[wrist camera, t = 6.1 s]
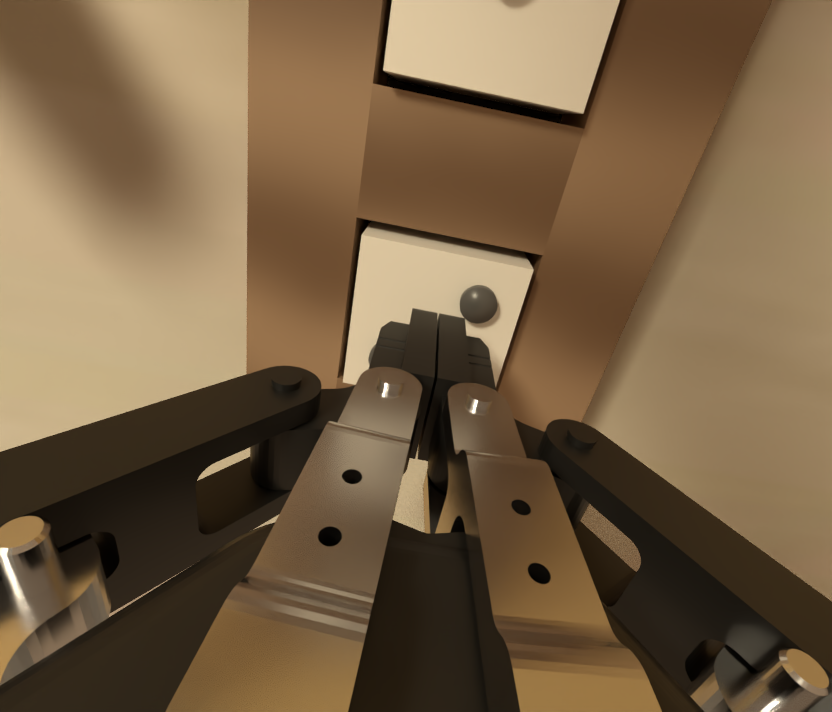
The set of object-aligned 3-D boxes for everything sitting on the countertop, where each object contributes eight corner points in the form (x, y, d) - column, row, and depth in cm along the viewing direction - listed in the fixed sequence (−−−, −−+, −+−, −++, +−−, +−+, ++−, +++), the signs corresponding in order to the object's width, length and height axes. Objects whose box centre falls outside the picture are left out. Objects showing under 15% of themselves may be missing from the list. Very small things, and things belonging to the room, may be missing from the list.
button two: (378, 211, 16) (359, 237, 12) (516, 239, 16) (535, 272, 13) (360, 337, 18) (340, 387, 15) (481, 360, 18) (488, 415, 15)
